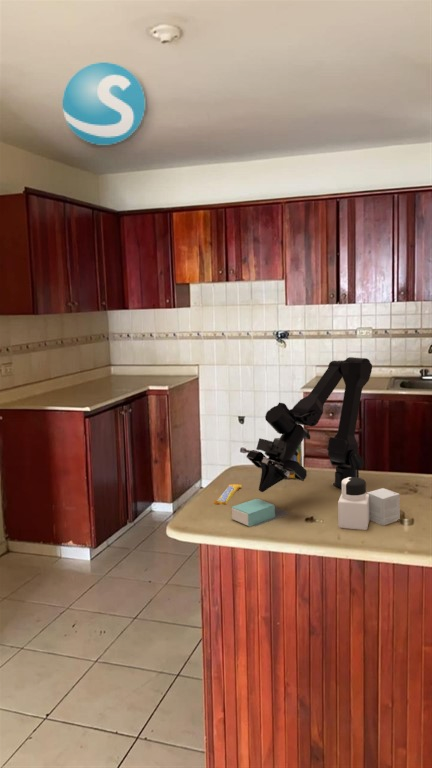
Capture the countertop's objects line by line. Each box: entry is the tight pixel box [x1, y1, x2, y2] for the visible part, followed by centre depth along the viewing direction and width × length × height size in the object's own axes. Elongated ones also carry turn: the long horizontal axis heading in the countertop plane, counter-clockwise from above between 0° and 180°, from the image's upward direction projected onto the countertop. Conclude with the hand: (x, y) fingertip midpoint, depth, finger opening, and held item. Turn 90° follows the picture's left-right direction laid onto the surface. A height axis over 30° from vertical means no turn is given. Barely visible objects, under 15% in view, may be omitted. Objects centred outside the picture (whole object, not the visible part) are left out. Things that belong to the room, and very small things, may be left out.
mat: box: [253, 506, 292, 527], centre depth 166 cm, size 13×9×1 cm
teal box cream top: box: [231, 498, 276, 528], centre depth 164 cm, size 4×7×9 cm
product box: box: [366, 487, 401, 526], centre depth 160 cm, size 6×6×7 cm
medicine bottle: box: [337, 477, 371, 531], centre depth 158 cm, size 7×7×12 cm
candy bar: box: [213, 483, 242, 505], centre depth 184 cm, size 17×4×2 cm, turn 162°
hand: (260, 491), depth 165 cm, fingers closed
